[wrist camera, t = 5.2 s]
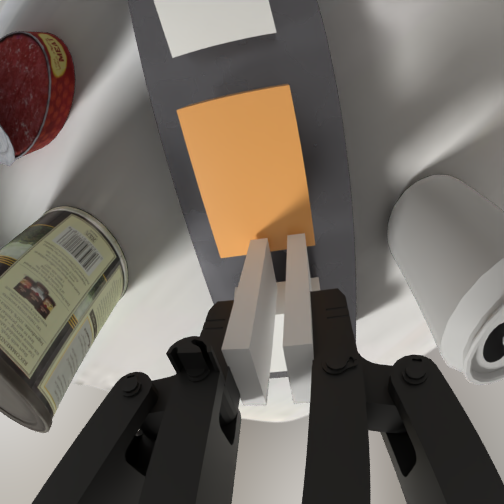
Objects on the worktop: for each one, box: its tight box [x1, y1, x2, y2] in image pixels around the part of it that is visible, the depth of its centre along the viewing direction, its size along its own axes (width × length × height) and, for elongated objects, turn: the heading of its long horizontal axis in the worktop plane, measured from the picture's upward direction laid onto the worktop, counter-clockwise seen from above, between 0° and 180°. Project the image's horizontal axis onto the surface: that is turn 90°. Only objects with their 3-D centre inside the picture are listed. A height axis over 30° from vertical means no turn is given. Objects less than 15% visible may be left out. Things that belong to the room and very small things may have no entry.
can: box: [387, 175, 504, 385], centre depth 14 cm, size 8×8×12 cm
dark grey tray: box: [128, 0, 357, 378], centre depth 16 cm, size 30×9×5 cm, turn 12°
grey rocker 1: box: [234, 277, 320, 372], centre depth 18 cm, size 7×4×2 cm, turn 12°
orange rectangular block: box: [177, 84, 315, 258], centre depth 13 cm, size 7×4×2 cm, turn 12°
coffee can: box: [0, 206, 128, 433], centre depth 17 cm, size 10×10×14 cm
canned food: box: [0, 31, 75, 166], centre depth 14 cm, size 11×10×10 cm
